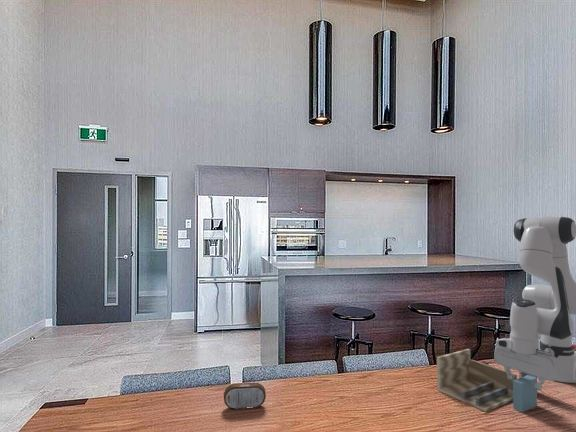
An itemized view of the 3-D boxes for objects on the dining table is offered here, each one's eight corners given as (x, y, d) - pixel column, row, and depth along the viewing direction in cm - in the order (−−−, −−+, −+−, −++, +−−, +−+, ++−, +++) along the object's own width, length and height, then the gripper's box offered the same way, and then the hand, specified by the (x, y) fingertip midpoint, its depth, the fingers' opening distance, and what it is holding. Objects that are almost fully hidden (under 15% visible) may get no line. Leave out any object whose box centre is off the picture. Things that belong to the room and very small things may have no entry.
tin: (265, 404, 135) (265, 381, 135) (266, 408, 132) (266, 384, 132) (223, 407, 132) (223, 383, 133) (223, 411, 129) (223, 387, 130)
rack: (468, 379, 157) (467, 348, 157) (516, 398, 140) (516, 364, 140) (437, 389, 147) (436, 357, 147) (485, 412, 129) (485, 374, 130)
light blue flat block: (528, 402, 137) (527, 374, 137) (537, 405, 134) (536, 377, 135) (513, 408, 132) (513, 380, 132) (522, 412, 129) (521, 383, 130)
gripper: (561, 352, 126) (561, 393, 126) (501, 337, 144) (501, 373, 143) (551, 355, 123) (552, 397, 123) (491, 339, 141) (491, 376, 140)
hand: (524, 384), depth 133 cm, fingers open, 8 cm apart
